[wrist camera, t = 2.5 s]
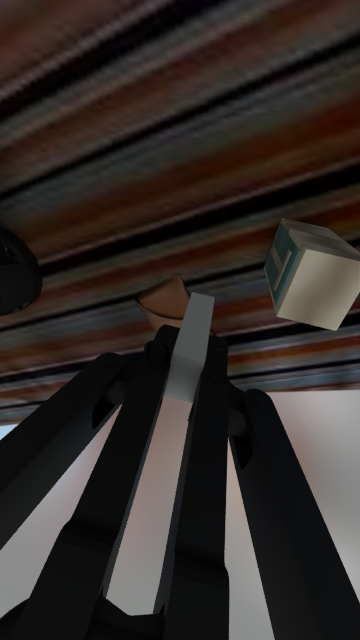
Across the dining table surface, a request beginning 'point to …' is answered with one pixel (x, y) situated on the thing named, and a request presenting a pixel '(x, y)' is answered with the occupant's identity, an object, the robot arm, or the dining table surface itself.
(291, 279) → the cream and teal box
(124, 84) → the dining table surface
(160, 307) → the sunglasses case
